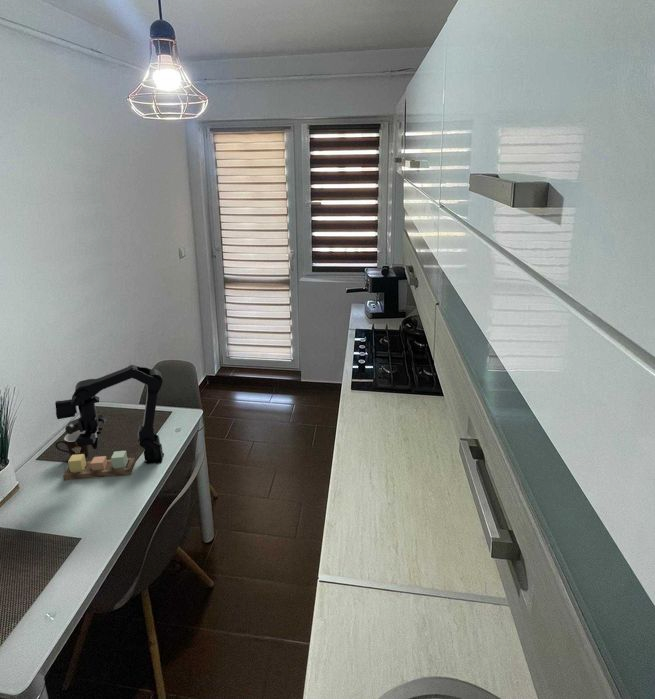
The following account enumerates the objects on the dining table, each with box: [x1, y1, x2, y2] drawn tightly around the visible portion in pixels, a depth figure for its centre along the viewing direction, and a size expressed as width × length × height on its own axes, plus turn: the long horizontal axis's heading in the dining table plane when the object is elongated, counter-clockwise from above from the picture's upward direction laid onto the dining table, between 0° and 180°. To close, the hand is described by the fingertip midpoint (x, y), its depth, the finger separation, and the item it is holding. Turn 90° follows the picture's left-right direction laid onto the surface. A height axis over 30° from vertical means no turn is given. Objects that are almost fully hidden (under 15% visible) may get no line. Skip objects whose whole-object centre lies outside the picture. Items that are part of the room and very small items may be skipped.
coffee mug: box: [55, 430, 90, 459], centre depth 204 cm, size 12×9×10 cm
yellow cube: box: [67, 454, 87, 472], centre depth 194 cm, size 5×5×5 cm
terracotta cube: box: [90, 455, 108, 471], centre depth 195 cm, size 5×5×5 cm
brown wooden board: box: [62, 457, 137, 482], centre depth 196 cm, size 25×9×2 cm, turn 98°
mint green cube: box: [110, 450, 129, 469], centre depth 196 cm, size 5×5×5 cm
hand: (95, 448), depth 192 cm, fingers closed
